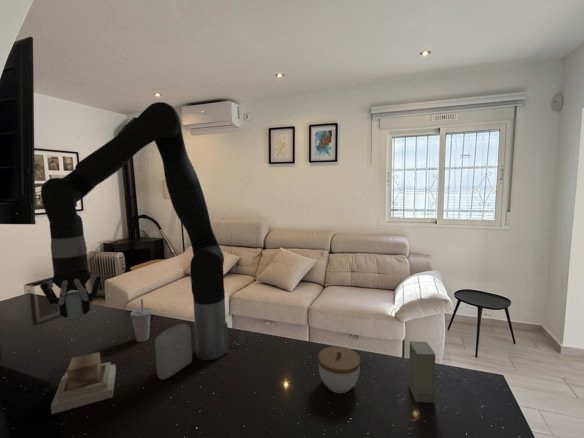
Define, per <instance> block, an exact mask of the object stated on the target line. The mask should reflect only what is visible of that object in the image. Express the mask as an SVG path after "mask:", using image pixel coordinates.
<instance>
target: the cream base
mask: <svg viewBox="0 0 584 438" xmlns="http://www.w3.org/2000/svg"><path fill="white" fill-rule="evenodd" d="M116 367H117V366H116V364H115V363H114V364H113V363H111V361H109V362H103V363H101V378H100V383H96V384H92V385H88V386H84V387H80V388H76V389H73V390H69V385H68V375H67V371H66V372H65V373H64V375H63V376H62V378H61V380H60V382H59V385H58V387H57V390H56V392H55V395H54V397H53V399H52V402H51V405H50V412H51V415H53V414H57V413H61V412H65V411H69V410H72V409H75V408H79V407H82V406H86V405H90V404H93V403H97V402H101V401H104V400H107V399H108V400H109V399H112V398H113V396H114V387H115V380H116V373H117V372H116V371H117V369H116Z"/></svg>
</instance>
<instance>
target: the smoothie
mask: <svg viewBox="0 0 584 438" xmlns="http://www.w3.org/2000/svg"><path fill="white" fill-rule="evenodd" d="M140 304H141V306H140V308H138V309H135V310H132V311H131V312H130V319H131V320H132V324H133V329H134V334H135V339H136V341H137V342H139V343H143V342H146V341H147V340H149V338H150V330H151V329H150V326H151V315H152V313H153V312H152V308H148V307H144V300H143V298H141V299H140Z"/></svg>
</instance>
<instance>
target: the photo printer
mask: <svg viewBox="0 0 584 438" xmlns="http://www.w3.org/2000/svg"><path fill="white" fill-rule="evenodd" d="M192 347H193V346H192V332H191V328H190V326H189V325H188V324H186V323H181V324H177V325H172V327H169V328H167V329H165V330H164V331H163V332H161V333H160V334H159V335H158V336H157V337H156V338H155V340H154V348H155V350H154V352H155V365H156V366H155V367H156V374H157V377H158V379H159V380H166V379H168V378H170V377H171V376H174V375H175V374H177V373H178V372H180V371H181V370H183V369H184V368H186V367H187V366H189V365H190V364H191V363H192V362H193V351H192V349H193V348H192Z"/></svg>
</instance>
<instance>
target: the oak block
mask: <svg viewBox="0 0 584 438" xmlns="http://www.w3.org/2000/svg"><path fill="white" fill-rule="evenodd" d="M101 364H102V362H101V353H100V351H99V352H93V353H90V354H89V353H88V354H84V355H79V356H74V357H72V358H71V360H70V363H69V365H68V367H67V371H66V372H67V375H68V385H69V390H73V389H76V388H80V387H84V386H88V385H92V384H96V383H100V378H101Z"/></svg>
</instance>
